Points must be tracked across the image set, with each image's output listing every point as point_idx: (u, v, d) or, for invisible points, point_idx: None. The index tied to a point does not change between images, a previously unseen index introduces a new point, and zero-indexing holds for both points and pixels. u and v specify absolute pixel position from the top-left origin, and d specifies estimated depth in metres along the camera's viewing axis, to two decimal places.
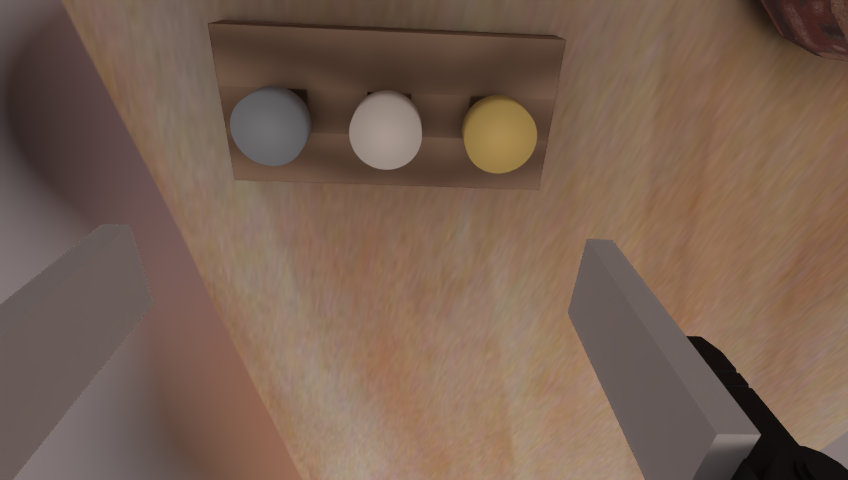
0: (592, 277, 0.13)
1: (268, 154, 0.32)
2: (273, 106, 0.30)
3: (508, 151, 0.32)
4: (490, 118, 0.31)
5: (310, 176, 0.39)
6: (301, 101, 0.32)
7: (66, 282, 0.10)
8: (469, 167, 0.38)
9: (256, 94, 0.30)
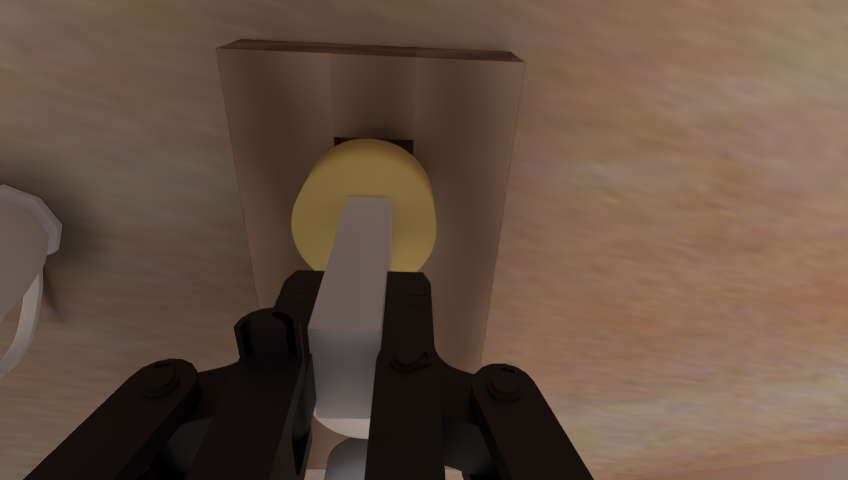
0: None
1: None
2: None
3: None
4: (324, 251, 0.16)
5: None
6: (342, 446, 0.24)
7: (362, 239, 0.13)
8: (464, 204, 0.21)
9: None
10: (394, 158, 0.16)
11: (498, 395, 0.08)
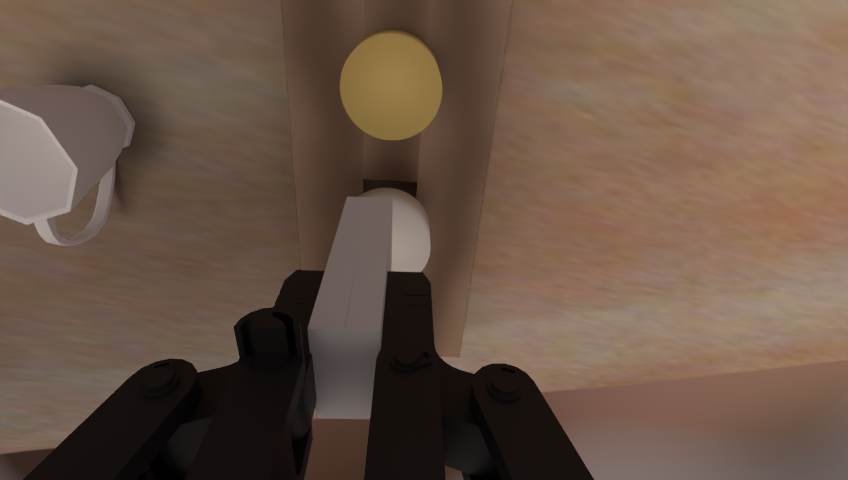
0: None
1: None
2: None
3: (409, 77, 0.22)
4: (361, 107, 0.23)
5: (461, 291, 0.33)
6: None
7: (362, 239, 0.13)
8: (465, 103, 0.26)
9: None
10: (414, 38, 0.22)
11: (499, 395, 0.08)
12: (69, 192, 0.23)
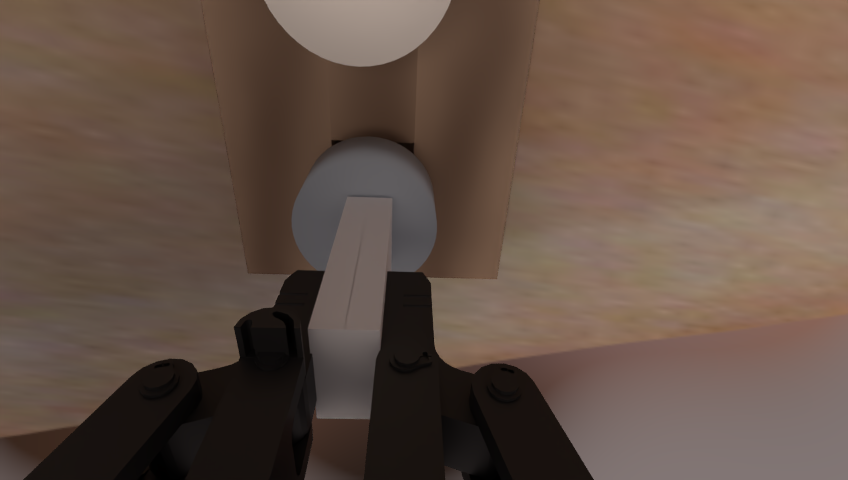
0: None
1: (413, 234, 0.16)
2: (314, 212, 0.15)
3: None
4: None
5: (502, 153, 0.19)
6: (325, 152, 0.17)
7: (362, 239, 0.13)
8: None
9: (295, 237, 0.16)
10: None
11: (499, 395, 0.08)
12: None
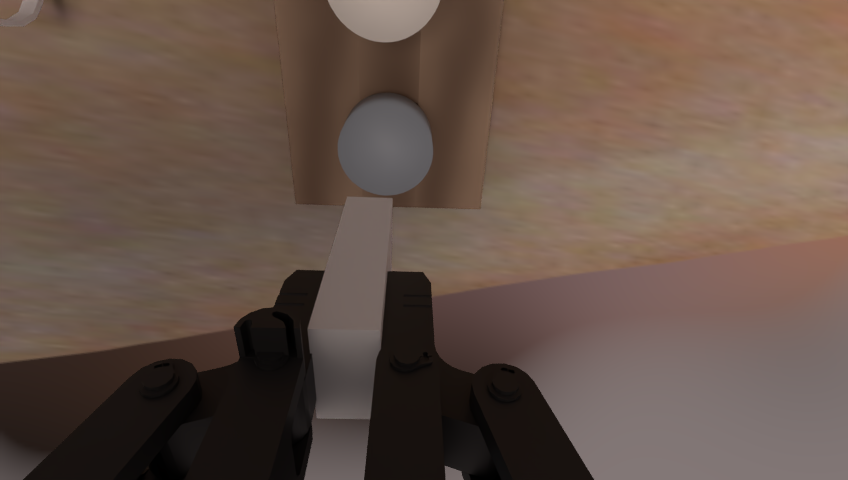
0: None
1: (417, 155, 0.24)
2: (353, 140, 0.24)
3: None
4: None
5: (481, 110, 0.27)
6: (358, 103, 0.25)
7: (362, 239, 0.13)
8: None
9: (340, 158, 0.24)
10: None
11: (498, 395, 0.08)
12: None
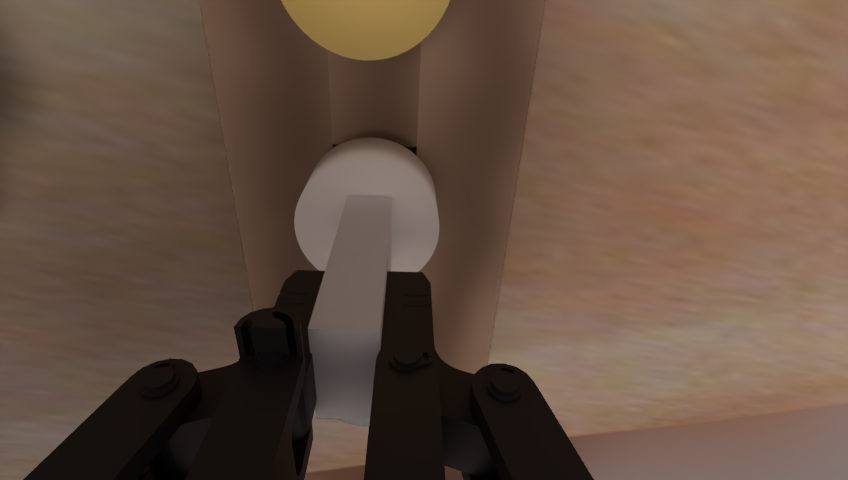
0: None
1: None
2: None
3: None
4: None
5: (484, 310, 0.23)
6: None
7: (362, 239, 0.13)
8: (491, 11, 0.16)
9: None
10: None
11: (498, 395, 0.08)
12: None
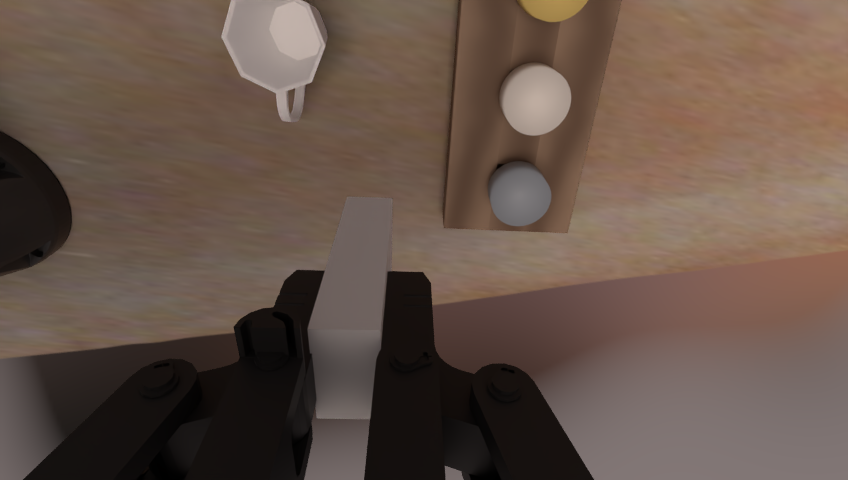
0: None
1: (540, 202, 0.38)
2: (502, 192, 0.38)
3: None
4: None
5: (575, 170, 0.41)
6: (501, 167, 0.39)
7: (362, 239, 0.13)
8: (596, 2, 0.34)
9: (491, 203, 0.38)
10: None
11: (498, 395, 0.08)
12: (315, 65, 0.32)
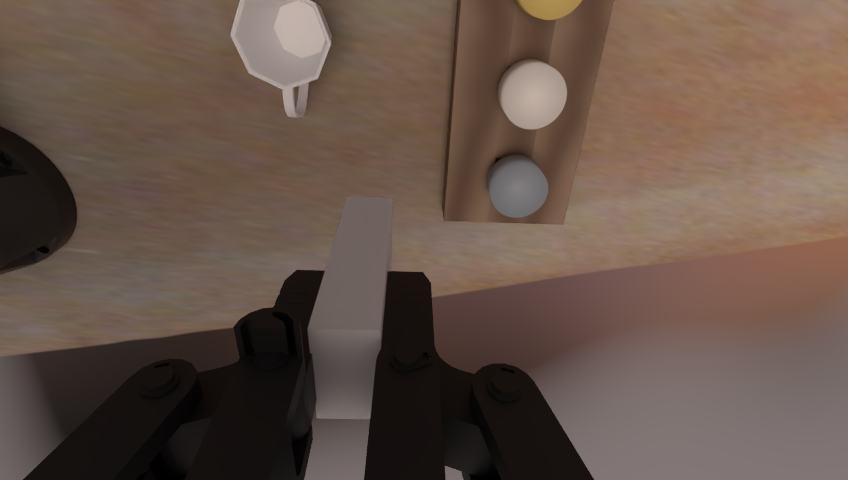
0: None
1: (538, 194, 0.40)
2: (501, 185, 0.39)
3: None
4: None
5: (571, 163, 0.42)
6: (500, 161, 0.41)
7: (362, 239, 0.13)
8: (590, 1, 0.36)
9: (491, 195, 0.40)
10: None
11: (498, 395, 0.08)
12: (322, 62, 0.33)
